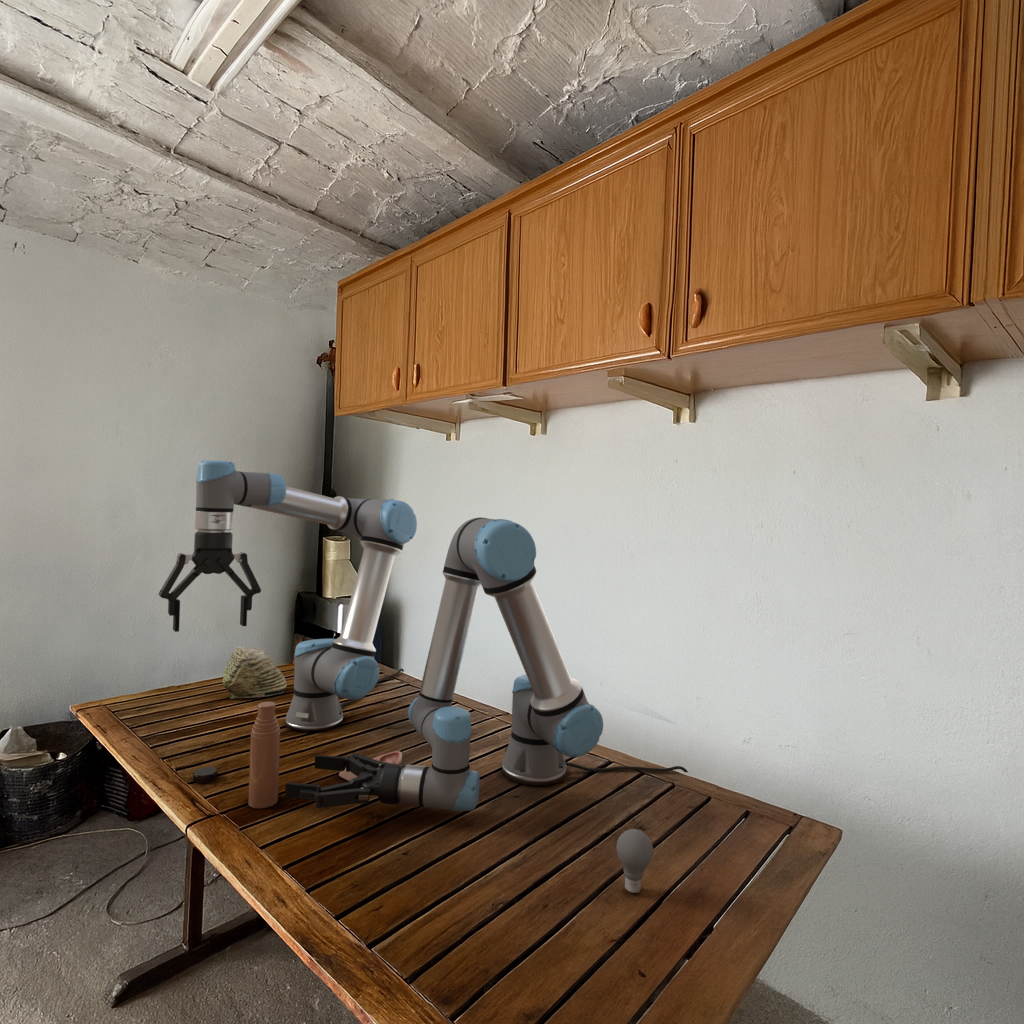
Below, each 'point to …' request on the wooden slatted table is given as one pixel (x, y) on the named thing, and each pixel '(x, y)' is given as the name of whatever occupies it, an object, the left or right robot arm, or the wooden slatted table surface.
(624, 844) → the light bulb
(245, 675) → the fossil
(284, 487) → the left robot arm
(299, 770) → the wooden slatted table surface
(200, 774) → the cap
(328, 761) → the right robot arm
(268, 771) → the bottle
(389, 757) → the anatomical model
